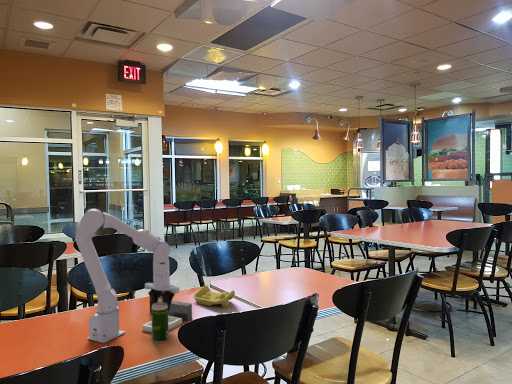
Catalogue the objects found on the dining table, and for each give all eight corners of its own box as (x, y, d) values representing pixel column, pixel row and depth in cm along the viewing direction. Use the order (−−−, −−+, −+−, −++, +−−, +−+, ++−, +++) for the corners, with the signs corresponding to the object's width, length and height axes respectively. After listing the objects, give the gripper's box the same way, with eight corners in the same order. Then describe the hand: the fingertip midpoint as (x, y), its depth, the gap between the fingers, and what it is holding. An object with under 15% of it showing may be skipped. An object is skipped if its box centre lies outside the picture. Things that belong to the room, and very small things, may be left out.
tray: (161, 334, 133) (160, 329, 133) (142, 330, 137) (142, 325, 137) (182, 323, 143) (182, 318, 143) (164, 319, 147) (164, 314, 147)
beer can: (169, 336, 132) (168, 301, 131) (167, 343, 126) (166, 306, 126) (153, 337, 131) (152, 302, 131) (150, 344, 126) (150, 307, 125)
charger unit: (187, 321, 145) (186, 306, 145) (166, 317, 150) (166, 302, 149) (192, 318, 148) (192, 303, 148) (172, 315, 152) (171, 300, 152)
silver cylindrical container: (163, 318, 138) (163, 298, 138) (155, 316, 139) (154, 297, 139) (170, 314, 141) (169, 295, 141) (162, 313, 143) (161, 294, 142)
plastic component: (191, 296, 169) (207, 282, 175) (198, 310, 171) (213, 295, 177) (219, 303, 154) (235, 287, 161) (227, 318, 157) (242, 302, 163)
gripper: (184, 273, 140) (185, 310, 140) (153, 269, 146) (154, 304, 147) (171, 277, 134) (172, 316, 134) (140, 273, 140) (141, 310, 141)
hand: (162, 310), depth 140 cm, fingers closed on silver cylindrical container, 4 cm apart
